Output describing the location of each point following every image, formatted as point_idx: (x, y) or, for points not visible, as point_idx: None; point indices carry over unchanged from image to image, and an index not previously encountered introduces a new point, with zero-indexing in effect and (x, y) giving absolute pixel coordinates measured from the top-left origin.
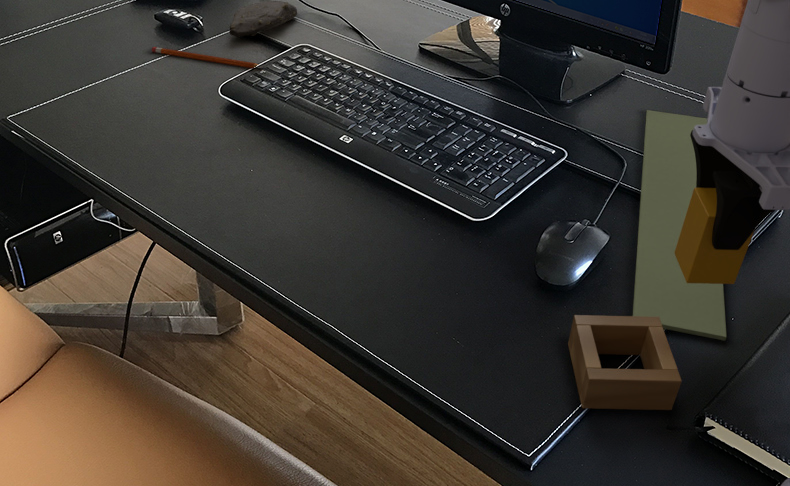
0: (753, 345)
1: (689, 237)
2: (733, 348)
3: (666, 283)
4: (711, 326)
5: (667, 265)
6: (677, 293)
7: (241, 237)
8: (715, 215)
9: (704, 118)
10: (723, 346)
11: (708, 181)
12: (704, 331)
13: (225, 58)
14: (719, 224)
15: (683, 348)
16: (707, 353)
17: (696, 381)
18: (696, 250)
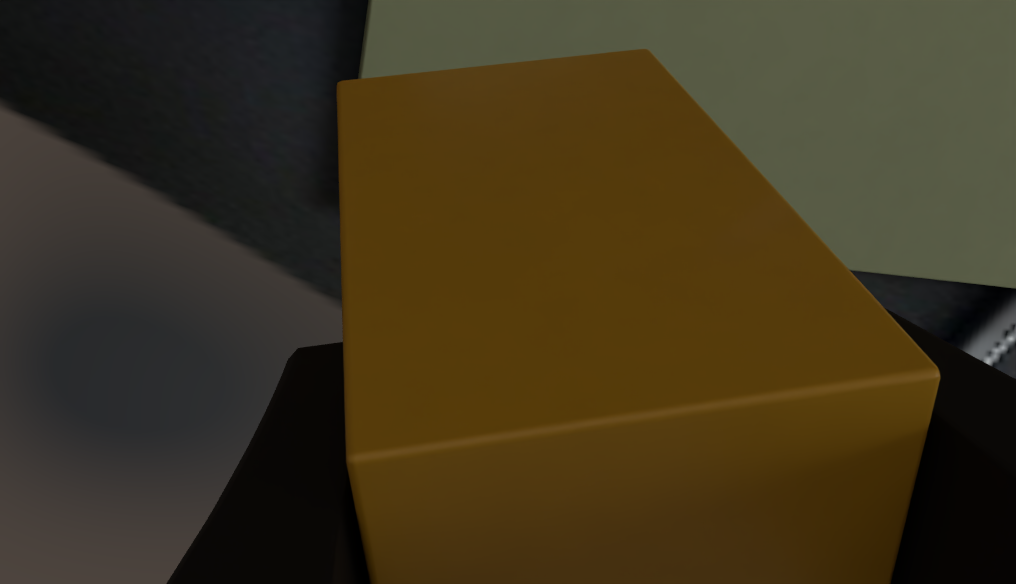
0: (337, 302)
1: (546, 171)
2: (303, 228)
3: (686, 5)
4: None
5: (815, 32)
6: (614, 48)
7: None
8: (334, 537)
9: None
10: (307, 192)
11: (971, 538)
12: None
13: None
14: (192, 547)
15: (256, 17)
16: (247, 120)
17: (40, 41)
18: (357, 202)
